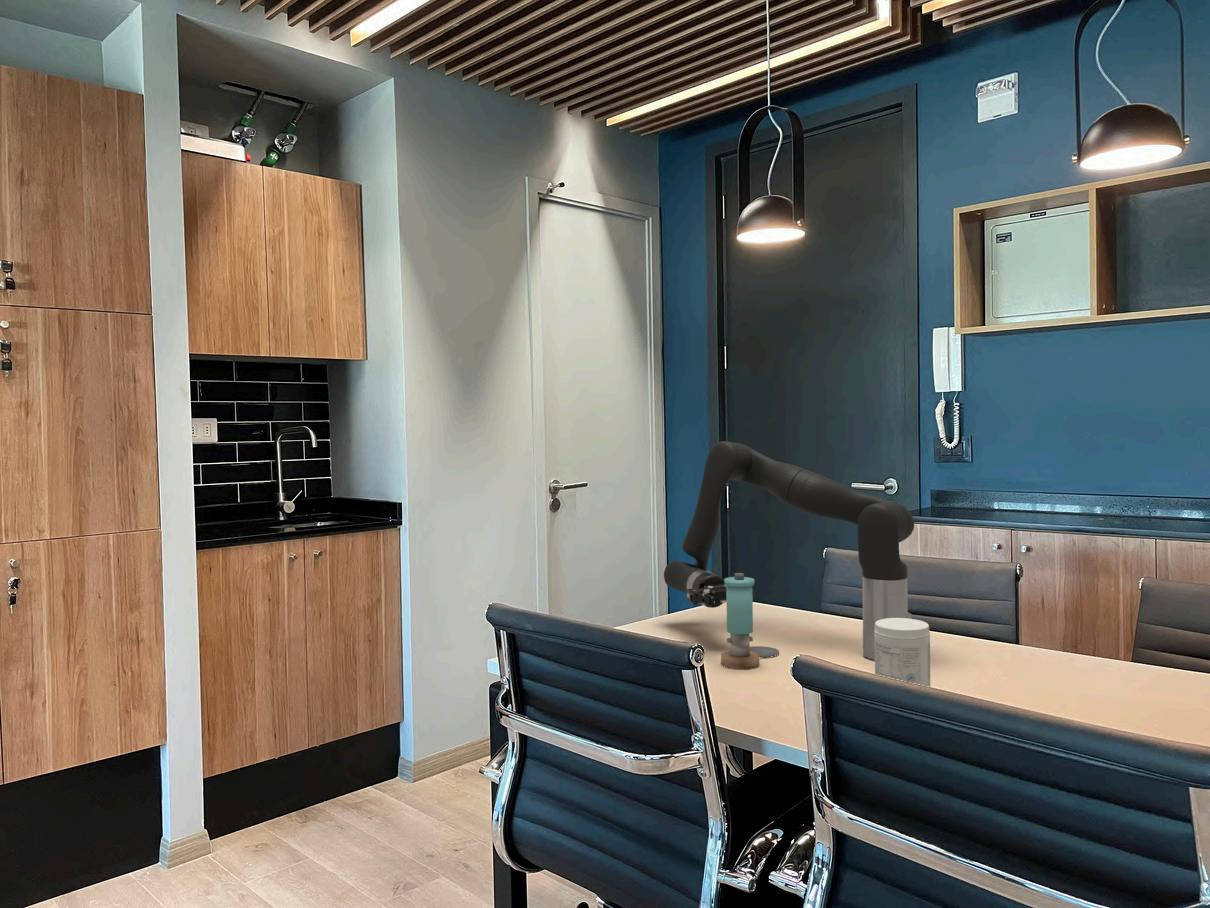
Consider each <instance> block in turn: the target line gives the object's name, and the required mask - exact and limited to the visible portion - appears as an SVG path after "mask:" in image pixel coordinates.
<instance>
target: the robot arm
mask: <svg viewBox="0 0 1210 908" xmlns="http://www.w3.org/2000/svg"><path fill="white" fill-rule="evenodd" d="M729 481H735V482H742V483H747V484H750V485H754V486H757V487H760V488H762V489H764V490H766V491H767V492H769V493H771V495H773V496H774V497H775V498H776V499H778V500H779V501H780V502H782V503H783V504H786V505H788V506H790V507H792V508H795V509H797V510H799V511H802V512H804V513H807V514H809V515H813V516H817V517H822V518H827V519H831V520H832V519H833V520H839V521H843V522H848V523H850V524H854V525H855V526H857V528H856V530H857V534H856V535H857V549H858V550H857V553H858V556H857V557H858V561H859V565H860V567H861V571H862V572H861V573H862V655H863V657H864V658H866V657H867V659H870V660H873V661H875V646H874V633H875V631H874V630H875V622H876V621H878V620H881V619H886V618H908V619H913V618H912V613H911V612H909V611H908V567H907V566H908V565H906V563H905V562H903V561H902V560H901V555H900V543H902V542H903V541H905V540H906V539H908V538H909V537H910V536H911V535H912V534H913V532H914V528H915V520H914V517H913V515H912V513H911V511H910V510H909V509H908V508H907V507H906V506H905V505H903V504H901V503H900V502H897V501H895V500H894V501H893V500H889V499H885V498H881V497H877V496H875V495H870V494H867V493H864V492H861V491H858V490H855V489H853V488H851V487H849V486H847V485H845V484H843V483H840V482H837V481H835V480H833V479H831V478H828V477H826V476H824V475H822V474H819V473H816V472H815V471H814V472H813V471H811V470H808V469H806V468H803V467H799V466H797V465H795V464H794V465H793V464H790V463H786V462H782V461H777V460H775V459H772V458H770V457H769V456H766V455H764V454H762V453H761V452H759V451H757V450H754V449H753V448H751V447H749V446H747V445H745V444H742V443H738V442H733V441H726V440H724V441H723V440H722V441H719V442H716V443H715V444H714V445H713V446H711V448H710V450H709V452H708V454H707V458H706V461H705V465H704V471H703V474H702V480H701V485H700V489H699V494H698V497H697V503H696V505H695V509H694V512H693V515H692V518H691V522H690V524H689V527H688V530H687V532H686V535H685V537H684V540H683V543H682V551H683V552H684V553H685V554H687V555H688V556H690V557H692V558H693V559H695V563H694V564H691V563H689V562H685V561H683V560H677V559H676V560H672V561H670V562H669V563H668V564H667V565H666V567H665V568H664V570H663V579H664V583H665V584H666V585H667V587H669V588H670V589H673V590H676V591H678V592H682V593H685V594H686V596H687V597H686V601H687V602H688V603H691V604H692V605H694V606H698V605H699V604H701V605H702V606H705V607H706V608H710V609H713V608H714V609H715V608H718V607H720V606H722V605H723V604H727V595H726V585H725V584H724V579H725V578H723V577H722V576H720V575H717V574H715V573H713V572H711V571H709V570H708V564H709V558H710V553H711V551H712V549H713V546H714V544H715V543H714V542H715V541H716V537H717V535H718V532H719V528H720V521H721V517H720V515H721V514H720V508H721V507H720V506H721V500H722V496H723V492H724V490H725V488H726V486H727V485H728V482H729ZM752 597H753V602H755V590H754V588H752Z"/></svg>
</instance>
